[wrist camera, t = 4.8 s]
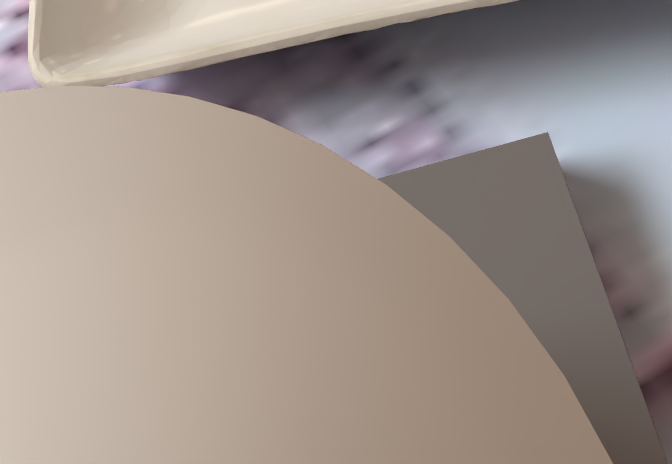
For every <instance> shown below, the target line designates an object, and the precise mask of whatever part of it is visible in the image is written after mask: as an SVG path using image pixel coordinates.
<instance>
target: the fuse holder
mask: <svg viewBox="0 0 672 464" xmlns="http://www.w3.org/2000/svg"><path fill="white" fill-rule="evenodd" d="M378 180H379V181H381V182H383V183H384V184H386V185H387V186H389V187H390V188H391V189H392V190H394V191H395V192H396V193H397V194H398V195H400V196H401V197H402V198H403V199H405V200H406V201H407V202H408V203H409V204H411V205H412V206H413V207H414V208H416V209H417V210H418V211H419V212H420V213H422V214H423V215H424V216H425V217H426V218H428V219H429V220H430V221H431V222H433V223H434V224H435V225H436V226H437V227H439V228H440V229H441V230H442V231H444V232H445V233H446V234H447V235H448V236H450V237H451V238H452V240H453V241H454V242H455V243H456V244H457V245H458V246H459V247H460V248H461V249H462V250H463V251H464V252H465V253H466V254H467V255H468V257H469V258H470V259H471V260H472V261H473V262H474V263H475V264H476V265H477V266H478V267H479V268H480V269H481V270H482V271H483V272H484V274H485V275H486V276H487V277H488V278H489V279H490V280H491V281H492V282H493V283H494V284H495V285H496V286H497V287H498V288H499V289H500V291H501V292H502V293H503V294H504V295H505V296H506V297H507V298H508V299H509V300H510V302H511V303H512V304H513V306H514V307H515V308H516V310H517V311H518V313H519V314H520V315H521V317H522V318H523V319H524V321H525V322H526V324H527V325H528V326H529V328H530V329H531V330H532V332H533V333H534V335H535V336H536V337H537V339H538V340H539V341H540V343H541V344H542V346H543V347H544V348H545V350H546V351H547V352H548V354H549V355H550V357H551V358H552V359H553V361H554V362H555V363H556V365H557V366H558V368H559V369H560V370H561V372H562V373H563V374H564V376H565V378H566V380H567V381H568V383H569V385H570V387H571V389H572V390H573V392H574V394H575V396H576V398H577V399H578V401H579V403H580V405H581V407H582V408H583V410H584V412H585V414H586V416H587V417H588V419H589V421H590V423H591V425H592V427H593V428H594V430H595V432H596V434H597V436H598V437H599V439H600V441H601V443H602V445H603V446H604V448H605V450H606V452H607V454H608V455H609V457H610V459H611V461H612V463H613V464H668V463H667V460H666V457H665V455H664V452H663V449H662V446H661V444H660V441H659V438H658V435H657V433H656V430H655V427H654V424H653V421H652V419H651V416H650V413H649V410H648V408H647V405H646V402H645V399H644V397H643V394H642V391H641V388H640V386H639V383H638V380H637V377H636V374H635V372H634V369H633V366H632V363H631V361H630V358H629V355H628V352H627V350H626V347H625V344H624V341H623V339H622V336H621V333H620V330H619V328H618V325H617V322H616V319H615V316H614V314H613V311H612V308H611V305H610V303H609V300H608V297H607V294H606V292H605V289H604V286H603V283H602V281H601V278H600V275H599V272H598V270H597V267H596V264H595V261H594V258H593V256H592V253H591V250H590V247H589V245H588V242H587V239H586V236H585V234H584V231H583V228H582V225H581V223H580V220H579V217H578V214H577V212H576V209H575V206H574V203H573V200H572V198H571V195H570V192H569V189H568V187H567V184H566V181H565V178H564V176H563V173H562V170H561V167H560V165H559V162H558V159H557V156H556V154H555V151H554V148H553V145H552V142H551V140H550V137H549V134H548V132H547V133H543V134H540V135H536V136H532V137H529V138H525V139H521V140H518V141H514V142H510V143H507V144H503V145H500V146H496V147H492V148H489V149H485V150H481V151H478V152H474V153H470V154H467V155H463V156H459V157H456V158H452V159H449V160H445V161H441V162H438V163H434V164H430V165H427V166H423V167H419V168H416V169H412V170H409V171H405V172H401V173H398V174H394V175H390V176H387V177H383V178H379V179H378Z"/></svg>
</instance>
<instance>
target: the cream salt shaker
mask: <svg viewBox="0 0 672 464" xmlns="http://www.w3.org/2000/svg"><path fill="white" fill-rule="evenodd" d="M0 464H613V463H612V461H611V459H610V457H609V455H608V454H607V452H606V450H605V448H604V446H603V445H602V443H601V441H600V439H599V437H598V436H597V434H596V432H595V430H594V428H593V427H592V425H591V423H590V421H589V419H588V417H587V416H586V414H585V412H584V410H583V408H582V407H581V405H580V403H579V401H578V399H577V398H576V396H575V394H574V392H573V390H572V389H571V387H570V385H569V383H568V381H567V380H566V378H565V376H564V374H563V373H562V372H561V370H560V369H559V368H558V366H557V365H556V363H555V362H554V361H553V359H552V358H551V357H550V355H549V354H548V352H547V351H546V350H545V348H544V347H543V346H542V344H541V343H540V341H539V340H538V339H537V337H536V336H535V335H534V333H533V332H532V330H531V329H530V328H529V326H528V325H527V324H526V322H525V321H524V319H523V318H522V317H521V315H520V314H519V313H518V311H517V310H516V308H515V307H514V306H513V304H512V303H511V302H510V300H509V299H508V298H507V297H506V296H505V295H504V294H503V293H502V292H501V291H500V289H499V288H498V287H497V286H496V285H495V284H494V283H493V282H492V281H491V280H490V279H489V278H488V277H487V276H486V275H485V274H484V272H483V271H482V270H481V269H480V268H479V267H478V266H477V265H476V264H475V263H474V262H473V261H472V260H471V259H470V258H469V257H468V255H467V254H466V253H465V252H464V251H463V250H462V249H461V248H460V247H459V246H458V245H457V244H456V243H455V242H454V241H453V240H452V238H451V237H450V236H448V235H447V234H446V233H445V232H444V231H442V230H441V229H440V228H439V227H437V226H436V225H435V224H434V223H433V222H431V221H430V220H429V219H428V218H426V217H425V216H424V215H423V214H422V213H420V212H419V211H418V210H417V209H416V208H414V207H413V206H412V205H411V204H409V203H408V202H407V201H406V200H405V199H403V198H402V197H401V196H400V195H398V194H397V193H396V192H395V191H394V190H392V189H391V188H390V187H389V186H387V185H386V184H384V183H383V182H381V181H379V180H378V179H376V178H375V177H373V176H371V175H370V174H368V173H367V172H365V171H363V170H362V169H360V168H358V167H357V166H355V165H354V164H352V163H350V162H349V161H347V160H345V159H344V158H342V157H341V156H339V155H337V154H336V153H334V152H332V151H331V150H329V149H328V148H326V147H324V146H323V145H321V144H318V143H316V142H314V141H312V140H309V139H307V138H305V137H303V136H300V135H298V134H296V133H294V132H291V131H289V130H287V129H285V128H282V127H280V126H278V125H276V124H273V123H271V122H269V121H267V120H264V119H262V118H260V117H258V116H255V115H251V114H248V113H245V112H241V111H238V110H234V109H231V108H227V107H224V106H220V105H217V104H214V103H210V102H207V101H203V100H200V99H196V98H193V97H189V96H182V95H175V94H169V93H162V92H155V91H149V90H142V89H135V88H129V87H105V86H51V87H42V88H33V89H24V90H15V91H6V92H0Z"/></svg>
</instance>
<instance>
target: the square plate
mask: <svg viewBox="0 0 672 464" xmlns="http://www.w3.org/2000/svg"><path fill="white" fill-rule="evenodd" d="M513 1H518V0H30V4H29V26H28V61H29V66H30V70H31V74H32V75H33V77H34V78H35V79H36V81H37V82H38V83H39V84H40V85H41V86H43V87H51V86H107V85H113V84H122V83H127V82H130V81H133V80H137V81H140V80H144V79H148V78H154V77H159V76H163V75H166V74H170V73H175V72H181V71H186V70H190V69H195V68H199V67H204V66H208V65H212V64H217V63H221V62H225V61H229V60H233V59H237V58H241V57H245V56H250V55H255V54H259V53H264V52H269V51H274V50H278V49H282V48H286V47H291V46H296V45H301V44H305V43H309V42H314V41H318V40H324V39H328V38H332V37H336V36H341V35H345V34H349V33H355V32H361V31H367V30H373V29H378V28H381V27H385V26H389V25H392V24H396V23H403V22H411V21H415V20H420V19H424V18H429V17H433V16H437V15H441V14H446V13H454V12H459V11H464V10H469V9H473V8H479V7H486V6H493V5H498V4H503V3H508V2H513Z"/></svg>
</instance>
